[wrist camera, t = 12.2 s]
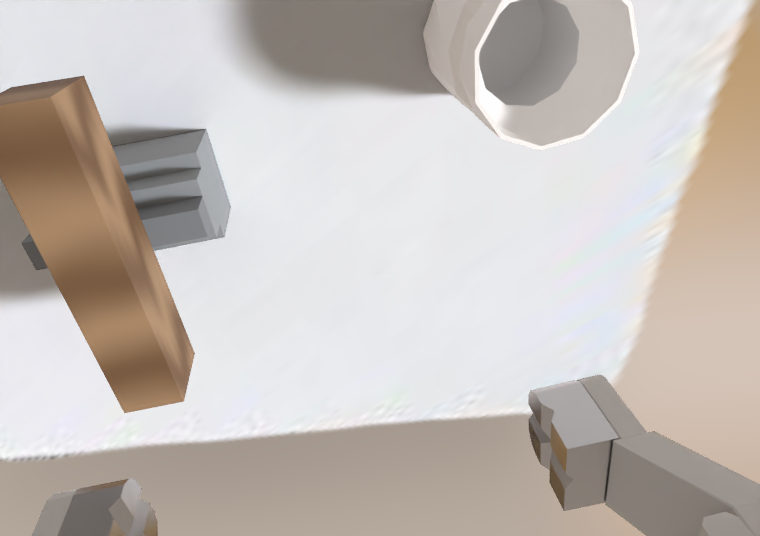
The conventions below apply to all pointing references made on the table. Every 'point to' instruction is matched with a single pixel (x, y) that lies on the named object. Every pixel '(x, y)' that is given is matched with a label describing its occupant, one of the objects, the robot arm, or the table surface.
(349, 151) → the table surface
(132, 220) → the walnut bar
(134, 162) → the ridge block
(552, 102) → the vase
